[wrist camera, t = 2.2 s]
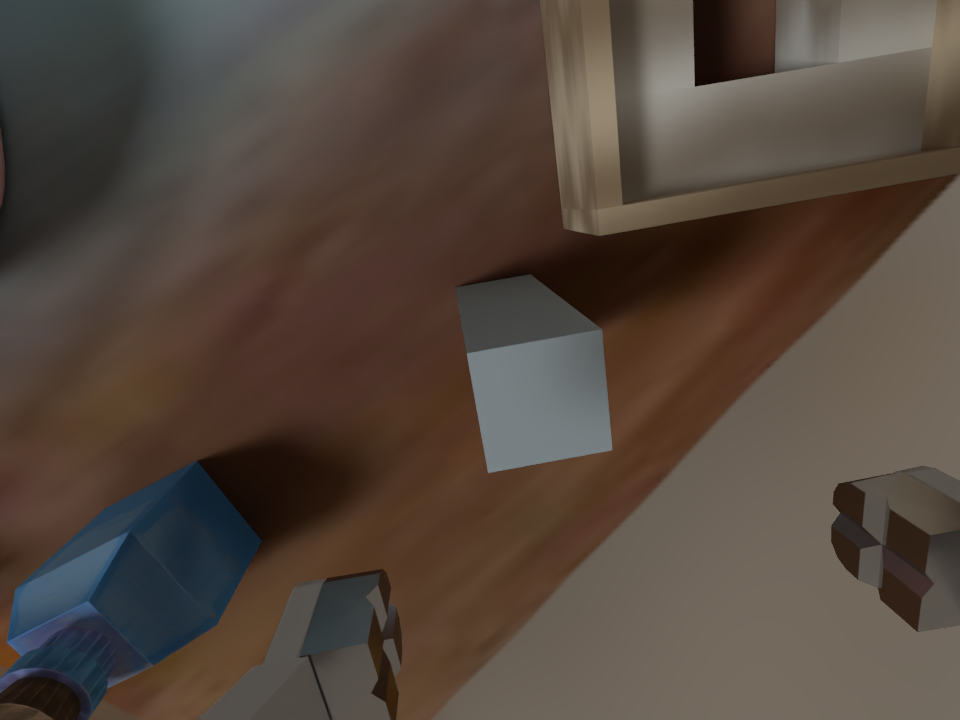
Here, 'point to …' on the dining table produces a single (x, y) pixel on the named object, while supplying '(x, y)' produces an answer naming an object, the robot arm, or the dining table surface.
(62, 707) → the perfume bottle
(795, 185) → the crate
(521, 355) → the peg
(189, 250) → the dining table surface
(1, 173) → the cake
